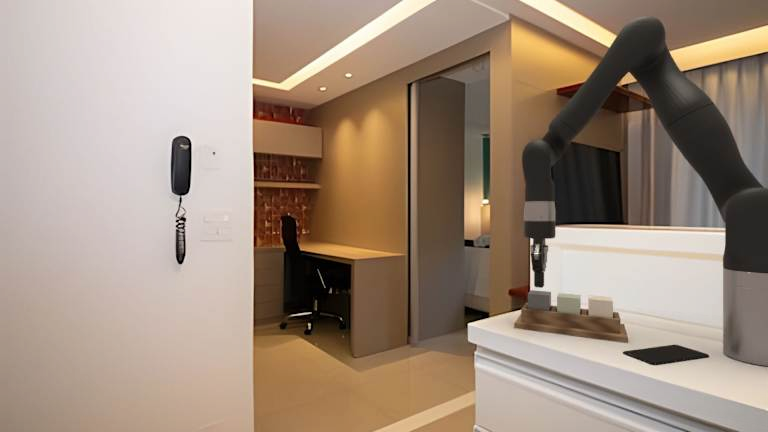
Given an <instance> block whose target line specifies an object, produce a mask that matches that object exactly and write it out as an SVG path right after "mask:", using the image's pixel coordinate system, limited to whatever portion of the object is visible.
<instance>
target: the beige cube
mask: <svg viewBox="0 0 768 432" xmlns="http://www.w3.org/2000/svg"><path fill="white" fill-rule="evenodd" d="M587 300H588V306H587V307H588V308H587V309H588V315H589V316H598V317H607V318H613V312H614V299H613V297H611V296H604V295H603V296H602V295H590V294H589V295H588V298H587Z"/></svg>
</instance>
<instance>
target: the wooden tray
mask: <svg viewBox="0 0 768 432" xmlns="http://www.w3.org/2000/svg"><path fill="white" fill-rule="evenodd" d="M513 325H514V327H513V328H515V329H519V330H520V329H521V330H528V331H535V332H541V333H542V332H544V333H552V334H559V335H563V336H564V335H565V336H574V337H580V338H588V339H595V340H604V341H611V342H619V343H625V344H628V343H629V337H628V333H627V329H626V327H625V326H626V325H625V323H621V316H620V313H619V311H617V312H616V311H613V318H607V317H598V316H589V315H588V308H581V314H571V313H561V312H557V305H551V311H543V310H534V309H528V302H525V304H524V305H523V306H521V309H520V315H519V316H518V317H517V319H516V320H515V322H514V323H513Z"/></svg>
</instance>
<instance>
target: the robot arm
mask: <svg viewBox="0 0 768 432" xmlns="http://www.w3.org/2000/svg"><path fill="white" fill-rule="evenodd" d="M628 73H630V75H631V76H632V77H633V79H635V81H636V82H637V83H638V84H639V85H640V87H641V88H642V89H643V91H644V92H645V94H646V95H647V97H648V100H649V102H650V104H651V107H652V108H653V110H654V113H655V115H656V116H657V118H658V120H659V122H660V123H661V126H662V127H663V129H664V131H665V132H666V133H667V135H668V136H669V139H671V141H672V143H673V144H674V146H675V147H676V148H677V149H678V150H679V152H680V153H681V155H682V156H683V158H684V159H685V160H686V161H687V163H688V164H689V165H690V166H691V167H692V168H693V170H694V171H695V172H696V173H697V174H698V176H699V177H700V178H701V179H702V181H703V183H704V185H705V186H706V188H707V189H708V191H709V193H710V196H711V197H712V199H713V202H714V203H715V206H716V207H717V210H718V212H719V215H720V217H721V219H722V221H723V223H725V226H724V227H725V229H724V232H725V236H724V238H725V239H724V242H725V243H724V252H723V255H722V332H723V333H722V352H723V354H724V355H725V356H728V357H729V358H732V359H734V360H736V361H737V360H738V361H741V362H745V363H749V364H753V365H759V366H766V367H768V187H765V186H763V185H762V183H761V182H760V181H759V180H758V179H757V178H756V176H755V175H754V174H753V173H752V172H751V170H750V169H749V168H748V166H747V164H746V163H745V161H744V159H743V157H742V155H741V152H740V150H739V147H738V144H737V141H736V139H735V136H734V134H733V131H732V129H731V127H730V126H729V123H728V122H727V120H726V119H725V117H724V116H723V114H722V112H721V111H720V109H719V108H718V107H717V105H716V104H715V102H714V100H713V99H712V98H710V96H708V95H707V93H705V91H704V90H703V89H701V87H699V86H698V85H697V84H696V83H694V81H692V80H690V78H688V77H687V76H686V75H685V73H683V72H682V71H681V69H680V67H679V66H678V64H677V63H676V62H675V60H674V58H673V56H672V55H671V52H670V51H669V48H668V46H667V42H666V30H665V26H664V23H663V22H662V21H661V20H660V19H659V18H657V17H655V16H650V15H644V16H640V17H636V18H634V19H632V20H630V21H628V23H626V24H625V25H624V26H623V27H622V29H621V30H620V31H619V32H618V34H617V35H616V37H615V39H614V40H613V41H612V43H611V45H610V46H609V48H608V50H607V51H606V53H605V54H604V56H603V57H602V58H601V60H600V61H599V62H598V63H597V66H596V67H595V68H594V70H593V71H592V72H591V74H590V75H589V76H588V77H587V79H586V80H585V81H584V82H583V84H582V85H581V86H580V87H579V89H578V90H577V91H576V92H575V94H574V95H573V96H572V97H571V98H570V99H568V100H569V101H567V103H566V104H565V105H563V107H562V108H561V109H560V110H559V111H558V113H557V114H556V115H555V117H554V118H553V119H552V120H551V121H550V123H549V124H548V130H547V132H546V133H545V134H544V135H543V137H542V139H534V140H531V141H529V142H528V143H526V145H525V146H524V148H523V150H522V153H521V154H522V155H521V165H522V172H523V178H524V184H525V188H524V189H525V190H524V208H523V237H524V238H526V239H532V240H533V241H532V244H531V245H530V247H529V249H530V250H529V251H530V258H531V259H530V260H531V266H532V267H531V269H532V272H533V274H534V275H533V276H534V277H533V279H534V281H533V285H534V288H539V289H540V288H544V286H545V272H546V268H547V263H548V252H549V245H548V244H546V239H547V240H548V239H549V240H550V239H555V238H556V205H555V192H556V191H555V183H554V180H553V179H552V167H553V166H554V165H555V164H556V163H557V162H558V161H559V160H560V159H561V157H562V156H563V154H564V153H565V152H566V150H567V149H568V148H569V146H570V144H571V143H572V141H573V140H575V138H577V136H578V135H579V134H580V133H581V132H582V131H583V129H584V128H586V126H587V125H589V123H590V122H591V121H592V120H593V119H594V117H595V116H596V115H597V114H598V112H599V111H600V109H601V108H602V106H603V105H604V104H605V102H606V100H607V99H608V98H609V96H610V95H611V93H612V92H613V90H615V88H616V87H617V86H618V84H619V83H620V82H621V81H622V80H623V78H624V77H625V76H627V74H628Z"/></svg>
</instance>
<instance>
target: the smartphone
mask: <svg viewBox="0 0 768 432" xmlns="http://www.w3.org/2000/svg"><path fill="white" fill-rule="evenodd" d="M622 354H623V355H624V356H627V357H630V358H632V359H636V360H638V361H641V362H644V363H646V364H648V365H650V366H662V365H669V364H675V363H680V362H688V361H695V360H703V359H708V358H710V355H709V354H708V353H705V352H702V351H700V350H696V349H692V348H689V347H686V346H682V345H679V344H670V345H668V344H667V345H662V346H661V345H660V346H653V347H645V348H638V349H637V348H636V349H630V350H624V351H623V352H622Z"/></svg>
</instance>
